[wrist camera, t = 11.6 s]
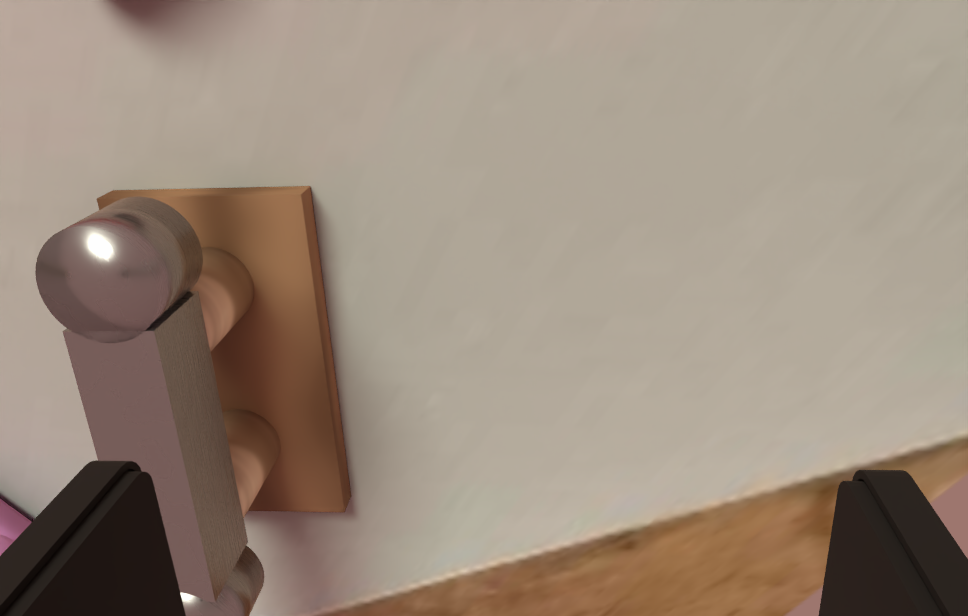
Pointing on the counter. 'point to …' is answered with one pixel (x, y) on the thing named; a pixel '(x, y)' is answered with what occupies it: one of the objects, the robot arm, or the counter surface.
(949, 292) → the counter surface
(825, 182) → the counter surface
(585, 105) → the counter surface
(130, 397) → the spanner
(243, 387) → the tool rest
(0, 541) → the teapot
